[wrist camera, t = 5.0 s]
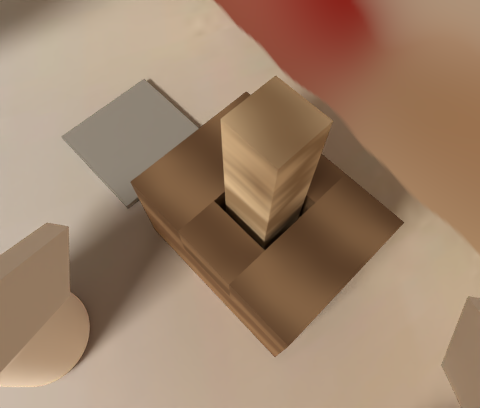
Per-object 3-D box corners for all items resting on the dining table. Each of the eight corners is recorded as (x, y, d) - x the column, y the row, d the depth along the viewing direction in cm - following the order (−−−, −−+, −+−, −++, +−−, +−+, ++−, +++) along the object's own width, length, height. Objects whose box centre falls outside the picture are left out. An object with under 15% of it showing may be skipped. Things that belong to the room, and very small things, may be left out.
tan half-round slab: (107, 352, 35) (48, 336, 24) (14, 407, 33) (-95, 416, 22) (71, 272, 38) (4, 225, 27) (-16, 318, 36) (-126, 288, 25)
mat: (127, 208, 40) (126, 206, 40) (63, 139, 44) (61, 136, 43) (211, 142, 44) (210, 139, 43) (145, 82, 47) (144, 78, 46)
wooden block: (261, 255, 32) (277, 169, 20) (226, 221, 34) (220, 118, 21) (296, 222, 34) (333, 120, 21) (261, 190, 35) (275, 75, 22)
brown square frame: (274, 357, 35) (288, 346, 26) (154, 229, 40) (130, 181, 30) (368, 257, 39) (409, 217, 29) (248, 151, 43) (251, 87, 34)
